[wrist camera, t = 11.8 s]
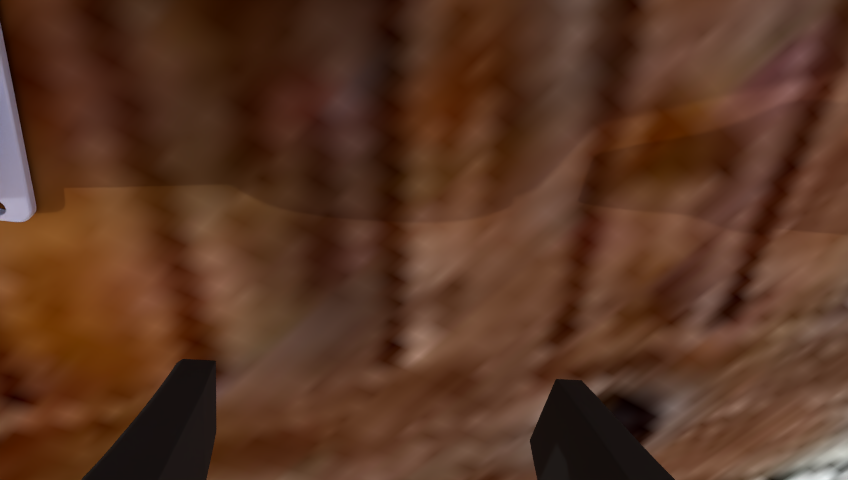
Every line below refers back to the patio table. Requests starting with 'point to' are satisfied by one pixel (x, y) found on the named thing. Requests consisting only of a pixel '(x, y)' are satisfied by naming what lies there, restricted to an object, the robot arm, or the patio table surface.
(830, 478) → the patio table surface
